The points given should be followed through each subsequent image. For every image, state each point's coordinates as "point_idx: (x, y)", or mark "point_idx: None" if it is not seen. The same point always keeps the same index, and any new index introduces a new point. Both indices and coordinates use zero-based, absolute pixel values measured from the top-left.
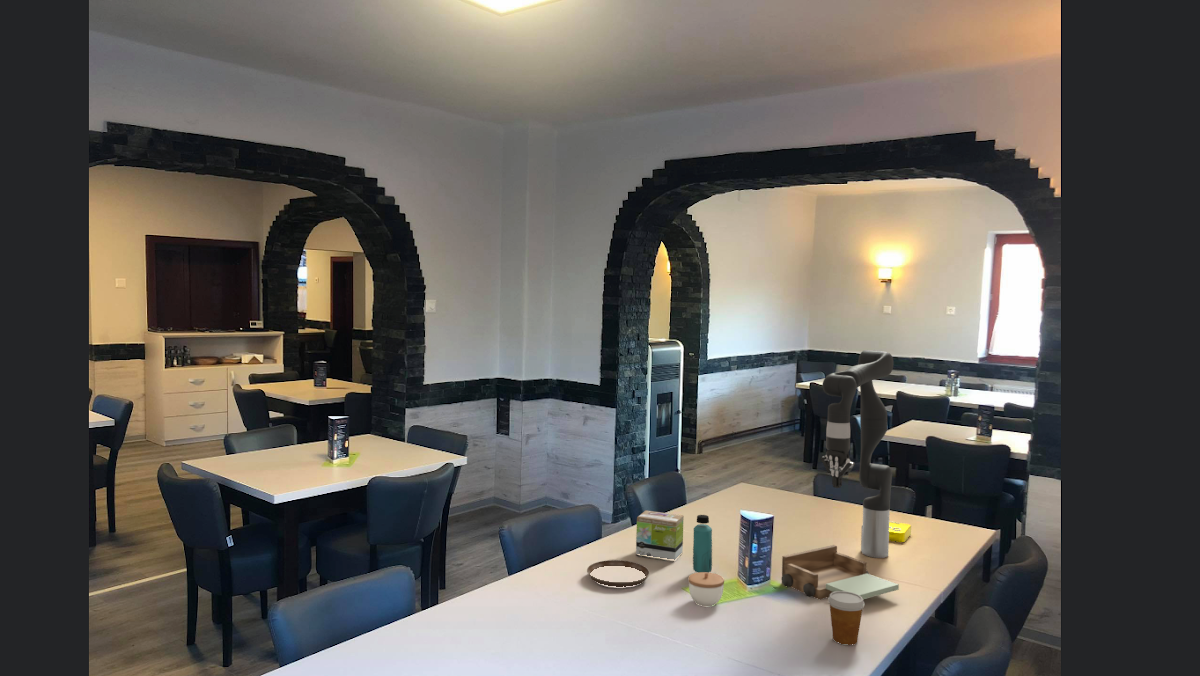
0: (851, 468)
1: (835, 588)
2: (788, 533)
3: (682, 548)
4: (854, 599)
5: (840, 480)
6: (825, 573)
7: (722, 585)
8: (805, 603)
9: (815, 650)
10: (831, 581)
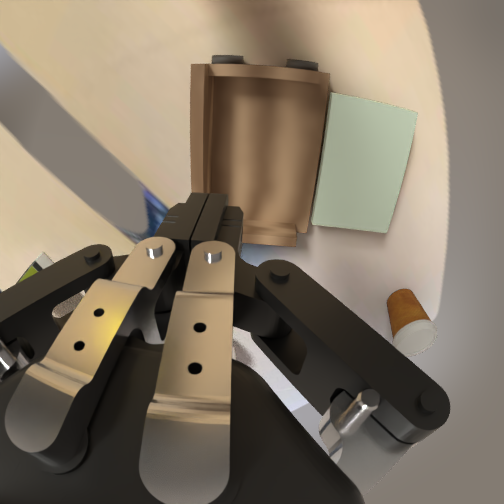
0: (385, 356)
1: (336, 226)
2: (10, 14)
3: (39, 257)
4: (426, 337)
5: (239, 253)
6: (249, 144)
7: (232, 358)
8: (299, 252)
9: (382, 334)
10: (292, 176)
